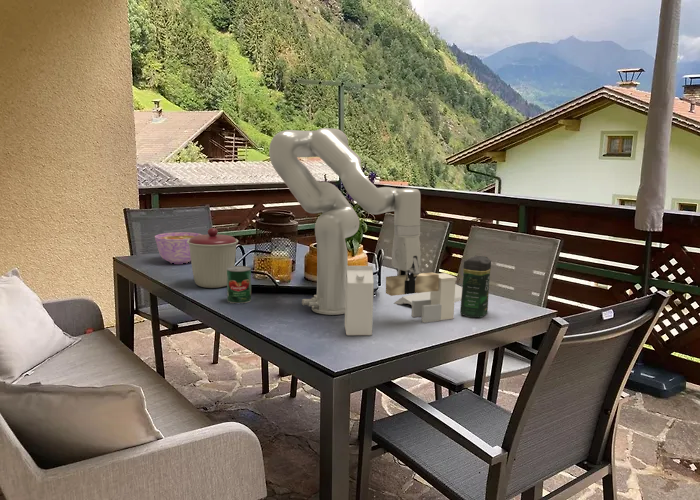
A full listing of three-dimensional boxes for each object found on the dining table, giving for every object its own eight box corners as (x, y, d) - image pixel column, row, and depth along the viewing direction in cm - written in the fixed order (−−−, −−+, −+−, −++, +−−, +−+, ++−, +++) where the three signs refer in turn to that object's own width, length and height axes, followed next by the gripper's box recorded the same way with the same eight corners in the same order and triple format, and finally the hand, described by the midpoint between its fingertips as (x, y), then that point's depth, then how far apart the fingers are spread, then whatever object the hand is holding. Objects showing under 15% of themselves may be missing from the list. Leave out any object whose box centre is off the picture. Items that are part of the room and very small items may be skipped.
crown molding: (421, 312, 190) (422, 301, 189) (393, 304, 198) (393, 294, 198) (474, 298, 210) (474, 288, 209) (446, 291, 218) (446, 282, 218)
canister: (180, 283, 219) (178, 226, 215) (224, 277, 230) (224, 223, 226) (201, 293, 205) (199, 233, 201) (247, 286, 216) (247, 229, 212)
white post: (423, 322, 178) (425, 280, 175) (411, 316, 184) (413, 275, 182) (455, 319, 182) (457, 277, 180) (442, 312, 189) (444, 272, 186)
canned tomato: (245, 296, 203) (244, 264, 201) (255, 301, 196) (255, 269, 194) (223, 299, 198) (222, 267, 196) (233, 305, 192) (232, 271, 190)
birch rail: (391, 295, 173) (391, 279, 172) (385, 293, 176) (385, 276, 175) (438, 290, 179) (438, 274, 179) (432, 288, 183) (432, 272, 182)
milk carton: (344, 327, 171) (346, 263, 168) (369, 327, 172) (371, 263, 168) (346, 335, 164) (348, 268, 161) (372, 335, 165) (374, 268, 161)
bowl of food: (160, 257, 264) (159, 232, 262) (206, 257, 266) (206, 232, 264) (150, 267, 245) (149, 239, 243) (200, 267, 247) (199, 239, 245)
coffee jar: (482, 320, 182) (486, 260, 178) (457, 316, 185) (460, 257, 182) (490, 312, 190) (494, 255, 187) (466, 308, 194) (470, 252, 191)
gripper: (383, 228, 180) (382, 287, 183) (409, 235, 165) (408, 299, 168) (404, 227, 183) (404, 285, 186) (432, 233, 168) (431, 296, 171)
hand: (406, 291), depth 177 cm, fingers closed on birch rail, 3 cm apart
